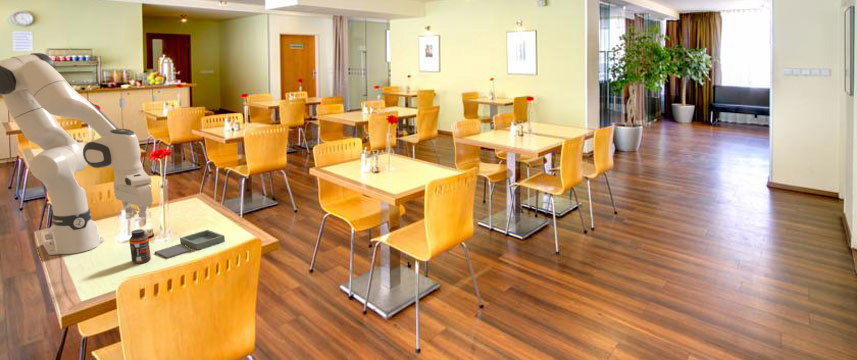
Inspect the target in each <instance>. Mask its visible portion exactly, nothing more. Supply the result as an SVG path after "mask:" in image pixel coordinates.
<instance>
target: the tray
mask: <svg viewBox="0 0 857 360" xmlns="http://www.w3.org/2000/svg"><path fill="white" fill-rule="evenodd" d="M225 239H226V238H225V235H223V234H221V233H218V232H215V231H213V230H209V229H206V230H202V231H199V232H195V233H191V234H189V235H185V236H180V237H179V240H180V245H181V246H182V245H183V246H184V247H186V248H189V249H191V250H192V249H193V250H195V251H200V250H203V249H207V248H209V247H212V246H216V245H219V244H221V243H224V242H225V241H226V240H225Z"/></svg>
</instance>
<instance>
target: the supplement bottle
mask: <svg viewBox="0 0 857 360" xmlns="http://www.w3.org/2000/svg"><path fill="white" fill-rule="evenodd" d="M129 249H130V255H131V262H132V264H140V265H141V264H145V263H147V262H149V261H151V258H152V257H151V256H152V255H151V250H150V242H149V237H148V235H146V234H145V230H144V229H141V228H140V229H134V230H132V231H131V237H130V238H129Z"/></svg>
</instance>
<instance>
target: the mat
mask: <svg viewBox="0 0 857 360" xmlns="http://www.w3.org/2000/svg"><path fill="white" fill-rule="evenodd" d="M190 252H192V248H189V247H187V246H184V245H183V246H182V244H175V245H171V246H168V247H165V248H162V249H158V250H155V251H154V254H156V255H158V256H161V257H163V258H165V259H167V260H169V259H171V258H173V257H178V256H180V255H183V254H186V253H187V254H188V253H190Z"/></svg>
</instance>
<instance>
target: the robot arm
mask: <svg viewBox="0 0 857 360" xmlns="http://www.w3.org/2000/svg"><path fill="white" fill-rule="evenodd" d="M0 95H1V97H2V99H3V102H4V104H5V106H6V109H7V110H8V112H9V114H10V116H11V117H12V119H13V121H14V122H15V123H16V125H17V126H18V129H20V131H21V133H22V134H23V135H24V137H25V139H26V140H28V141H30V143H34V144H36V145H37V146H38V147H40V148H41V150H43V151H41V152H39V153H38V154H37V155H35V156H34V157H33V158H31V160H30V162H29V170H30V173H31V174H32V176H34V178H36V179H37V180H39V181H40V182H42V184H43V186H44V187H45V189H46V190H47V192H48V196H49V199H50V200H49V201H50V203H51V209H52V215H51V216H52V217H51V220H52V225H51V226H50V228H49V229H48V231H47V233H45V234H44V239H45V240H46V241H44V242H42V245H43V248H44V249H45V251H46V253H47V254H48V255H49V256H53V255H54V256H55V255H72V254H79V253H83V252H87V251H89V250H92V249H95V248H97V247H98V246H99V245H100V244H101V243H103V242H105V238H104V237H102V236H100V233H99V229H98V223H97V222H96V221H94V220H93V219H92V212H91V210H90V208H89V204H88V199H87V191H86V190H85V188H84V187H83V186H80V184H79V183H78V181H77V179H76V176H75V174H76V173H79V172H80V171H83V170H84V169H85V168H86V167H87V166H90V167H91V168H94V169H101V168H107V167H112V168H113V169H112V170H113V175H114V180H113V192H114V197H115V199H116V200H117V201H121V203H122V205H123V207H124V211H125V213H126V214H131V213H133V212H134V211H133V207H132V206H131V205H134V206H137V208H138V218H141V219H143V218H146V216H147V213H146V211H147V207H151V206H152V204H153V203H154V202H153V201H154V199H153V191H152V189H153V188H152V186H151V183H152V178H151V176H150V175H148V173H147V172H146V171H145V170H144V167H143V165H144V164H143V163H142V161H141V158H142V157H141V155H142V153H141V147H140V143H139V138H138V137H137V134H136V133H135V132H134V131H133V130H130V129H127V128H119V127H117V125H116V124H115V123H114V122H112V121H111V119H109V118H108V117H107V116H106V115H105V114H104V112H103V111H101V109H99V108H98V106H97V105H95V104H94V103H92V102H91V101H90V100H89V99H86V98H85V97H84V96H82V95H81V94H80V93H79V92H77V90H76V89H74V88H73V86H71V85H70V83H69V82H68V81H67V80H66V79H65V77H63V75H62V74H61V73H59V72H58V69H57V66H56V64H55V62H54V60H53V59H52V58H51V57H49V56H48V54H45V53H41V52H33V53H30V54H23V55H16V56H12V57H9V58H6V59H2V60H0ZM55 116H57V117H63V118H70V119H74V120H78V121H81V122H84V123H85V124H87V125H88V126H90V128H92V129H93V130H94V131H95V132H96V134H98V135H99V138H96V139H94V140H91V141H88V142H87V143H86V144H82V143H79V142H78V141H76V140H75V139H74V138H73V137H72V136H71V135H70V134H69V133H68V132H67V131H66V130H65V129H64V128H63V126H61V125H60V123H59V122H58V120H57V118H56V117H55Z"/></svg>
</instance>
